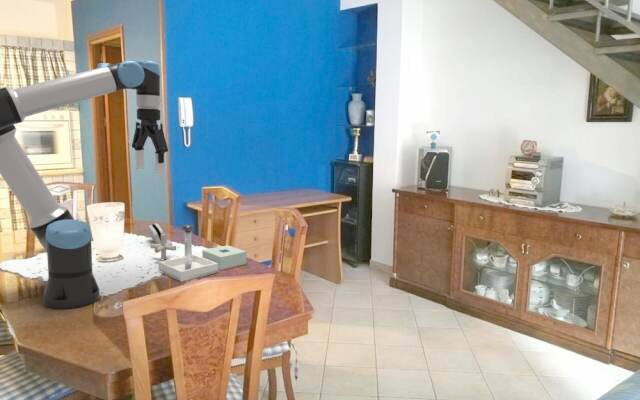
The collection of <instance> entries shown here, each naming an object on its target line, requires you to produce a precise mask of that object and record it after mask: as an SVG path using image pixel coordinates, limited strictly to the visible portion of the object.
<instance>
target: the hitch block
mask: <svg viewBox="0 0 640 400" xmlns="http://www.w3.org/2000/svg"><path fill="white" fill-rule="evenodd" d="M201 252H202V253H201V257H203V258H205V259H208V260H210V261H213V262H215V263H218V271H223V270H227V269H232V268H235V267H240V266H243V265H244V266H245V265H247V250H243V249H241V248H237V247H234V246H231V245H229V244H227V245H222V246H217V247H216V246H215V247H212V248H208V249H207V248H206V249H202V251H201Z"/></svg>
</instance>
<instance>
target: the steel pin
mask: <svg viewBox="0 0 640 400" xmlns="http://www.w3.org/2000/svg"><path fill="white" fill-rule="evenodd" d="M194 227H195V226H194V224H183V225H181V229H182V230H183V231H184V256H185V270H188V269H192V255H193V254H192V253H193V251H192V246H193V245H192V244H193V243H192V231H193V230H195V228H194Z"/></svg>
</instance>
